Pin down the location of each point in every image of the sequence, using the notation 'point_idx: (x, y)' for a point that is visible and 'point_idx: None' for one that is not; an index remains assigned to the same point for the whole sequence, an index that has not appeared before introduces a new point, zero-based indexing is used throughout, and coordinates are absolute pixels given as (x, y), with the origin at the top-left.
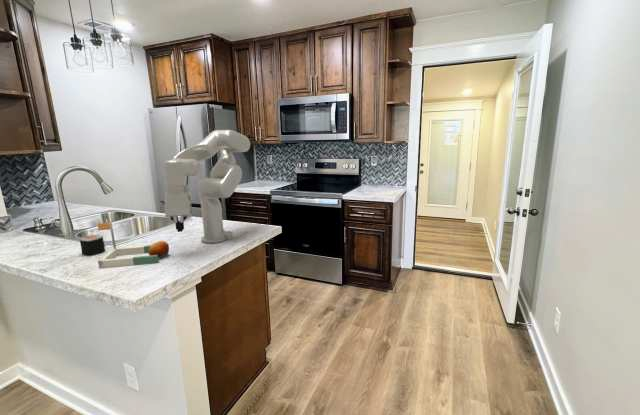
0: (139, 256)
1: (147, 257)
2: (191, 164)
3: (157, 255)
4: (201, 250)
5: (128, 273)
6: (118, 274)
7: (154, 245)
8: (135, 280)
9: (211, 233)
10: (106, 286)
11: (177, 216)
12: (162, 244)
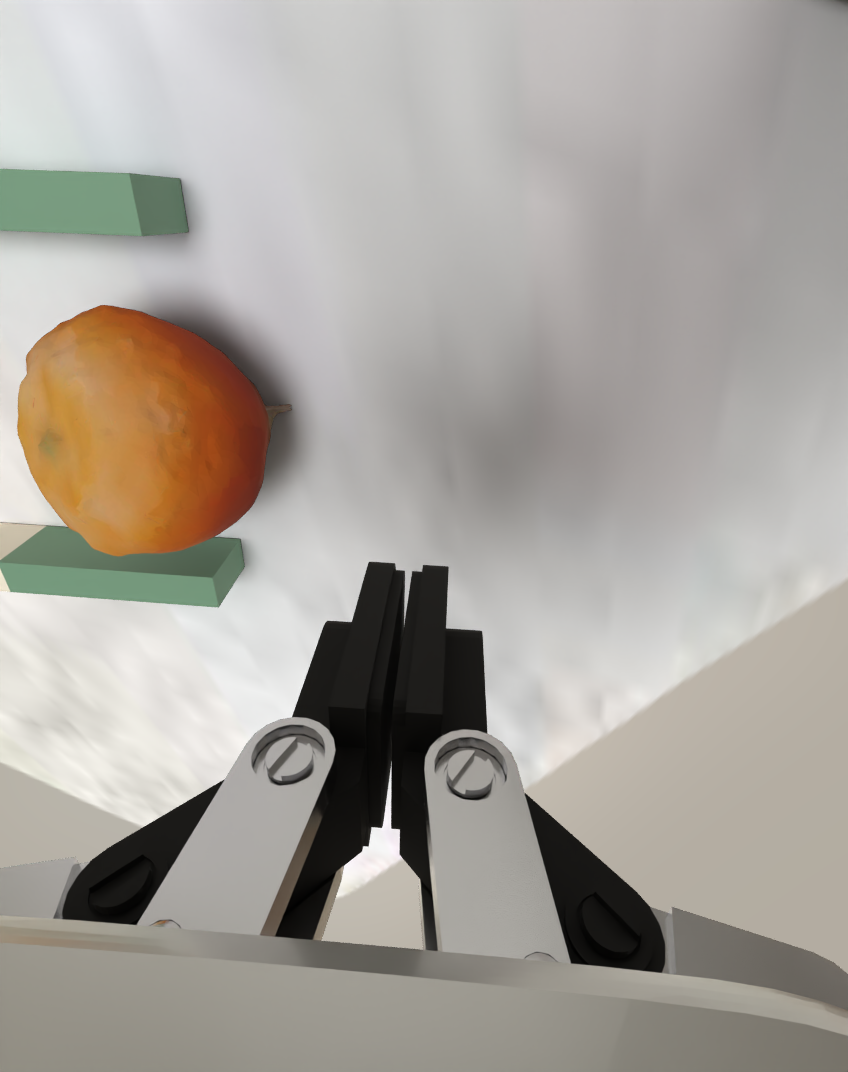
0: (48, 568)
1: (139, 597)
2: None
3: (215, 583)
4: (648, 339)
5: (120, 680)
6: (60, 676)
7: (101, 545)
8: (226, 772)
9: None
10: (105, 786)
11: (277, 914)
12: (188, 533)
